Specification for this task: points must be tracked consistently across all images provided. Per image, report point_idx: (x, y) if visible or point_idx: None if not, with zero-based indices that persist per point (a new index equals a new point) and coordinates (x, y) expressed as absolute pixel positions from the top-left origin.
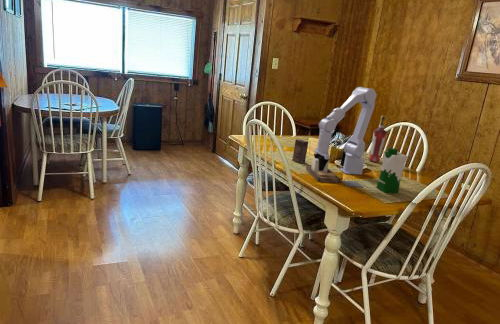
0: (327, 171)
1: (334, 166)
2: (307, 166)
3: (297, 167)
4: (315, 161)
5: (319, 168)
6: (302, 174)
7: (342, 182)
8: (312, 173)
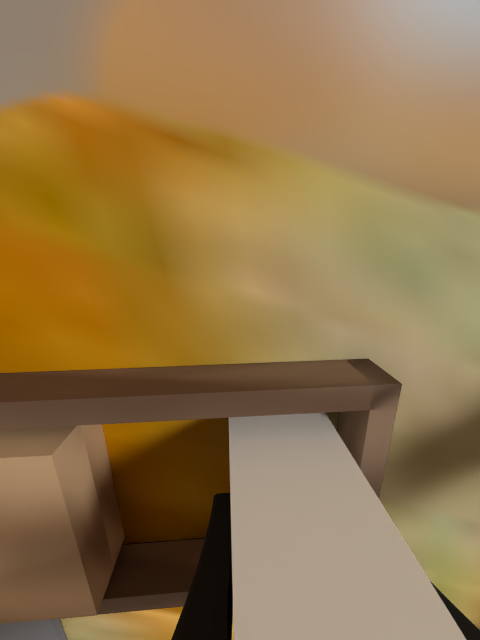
0: None
1: None
2: (376, 390)
3: (456, 270)
4: (242, 621)
5: (210, 523)
6: (155, 249)
7: None
8: (127, 383)
